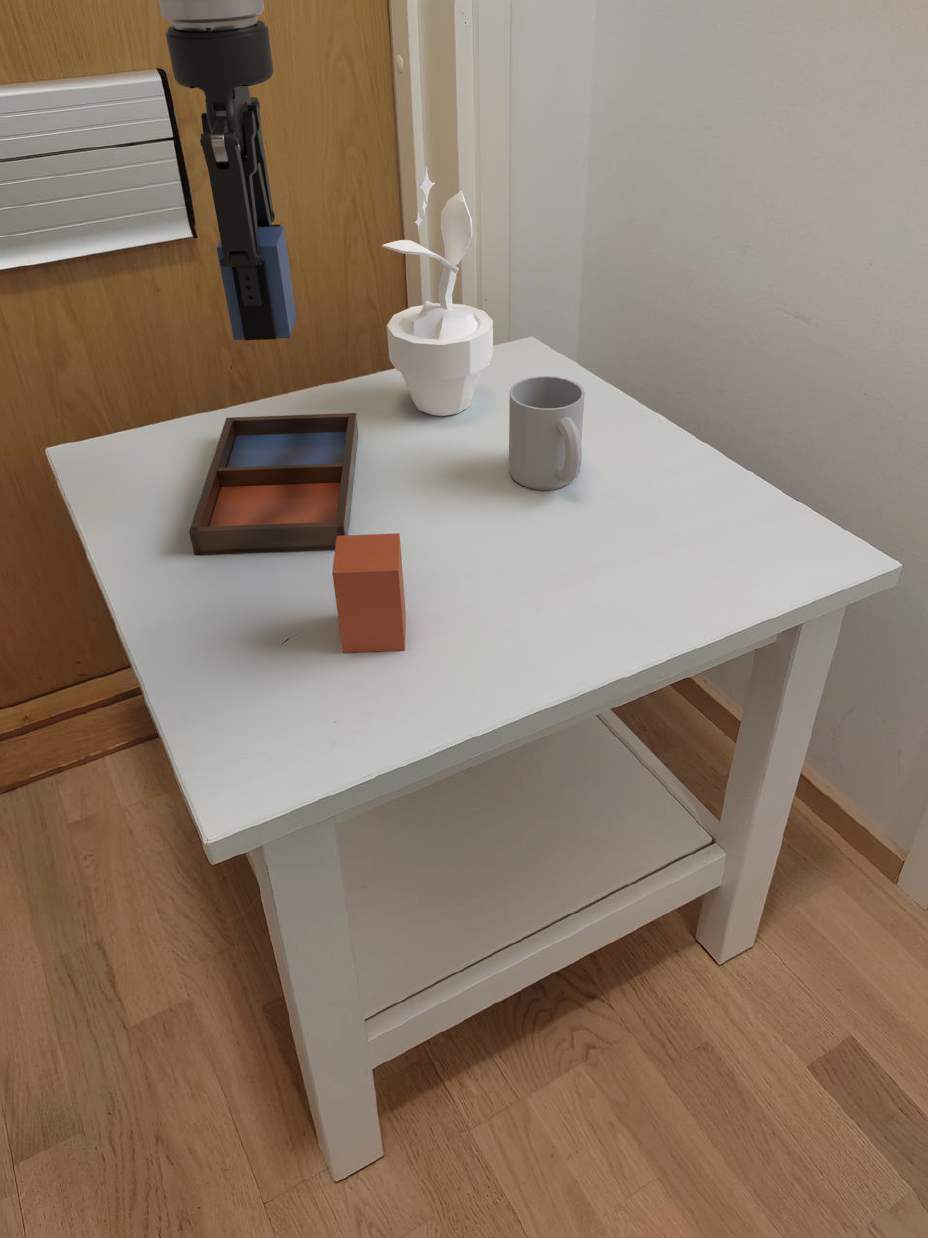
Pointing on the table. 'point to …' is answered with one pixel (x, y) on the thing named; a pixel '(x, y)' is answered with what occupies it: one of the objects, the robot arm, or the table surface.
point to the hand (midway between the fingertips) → (264, 324)
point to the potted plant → (441, 325)
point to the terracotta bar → (369, 592)
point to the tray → (278, 485)
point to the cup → (545, 432)
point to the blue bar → (278, 280)
